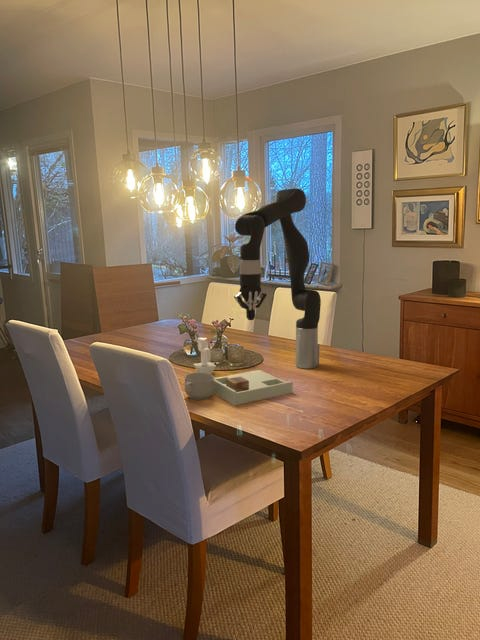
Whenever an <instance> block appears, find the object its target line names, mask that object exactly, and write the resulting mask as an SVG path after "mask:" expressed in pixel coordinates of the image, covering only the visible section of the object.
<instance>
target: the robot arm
mask: <svg viewBox="0 0 480 640" xmlns="http://www.w3.org/2000/svg"><path fill="white" fill-rule="evenodd" d="M306 204H307V198H306V194H305V192H304V190H303V189H300V188H289V189H288V188H286V189H279V190H278V191H277V192H276V194H275V199H274V202H271V203H268V204H265V205H264V206H261V207H260V208H258V209H257V210H254V211H251V212H246V213H244V214H241V215H239V216H238V217H237V219H236V220H235V222H234V230H235V231H236V233H237V234H238V235H240V236H242V237H243V236H244V237H245V236H246V237H247V236H249V237H250V238H249V240H248V241H247V242H243V243H241V244H240V248H239V292H238V294H236V295H234V296H233V298H234V299H235V301H236V303H237V304H238V305H239V306H240V307H241V308H242V309H245V311H246V312H245V313H246V314H245V315H246V319H247V320H248V321H254V320H255V319H256V318H255V317H256V310H257V308H260V307H261V305H262V303H263V302H264V301H265V299H266V297H267V293H266V292H263V291H262V288H261V284H262V283H261V282H262V279H261V278H262V277H261V275H262V273H261V272H262V266H261V265H262V264H261V245H262V240H263V236H264V233H265V228H267V227H269V226H271V225H272V224H274V223H275V222H277V221H279V222H280V226H281V232H282V236H283V242H284V249H285V254H286V256H285V257H286V260H287V264H288V265H287V266H288V274H289V279H290V290H291V293H290V294H291V302H292V305H293V307H294V308H295V309H296V310H298V311H303V312H304V316H303V317H302V318H298V319H297V320H296V321H295V367H297V368H299V369H309V370H310V369H315V368H317V367H320V344H319V336H318V335H319V322H320V319H321V315H320V314H321V303H322V302H321V295H320V292H318V290H314V289H309V288H308V289H307V288H306V284H305V279H304V278H305V275H306V274H305V273H306V271H307V268H308V266H309V263H310V251H309V247H308V246H309V245H308V242H307V240H306V238H305V237H304V235H303V234H302V233H301V231H300V230H299V229H298V228H297V227H296V225H295V224H294V221H293V218H292V214H294V213H298V212H302V210H304V209H305V207H306Z"/></svg>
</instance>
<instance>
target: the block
mask: <svg viewBox="0 0 480 640" xmlns="http://www.w3.org/2000/svg"><path fill="white" fill-rule="evenodd" d="M226 386H227V387H229V388H231V389H233V390H235V391H236V392H241V391H246V390H249V381H248V380H246V379H245V378H243V377H241V376H240V377H235V378H229V379H226Z"/></svg>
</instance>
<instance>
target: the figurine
mask: <svg viewBox="0 0 480 640" xmlns="http://www.w3.org/2000/svg"><path fill="white" fill-rule="evenodd" d="M208 345H209V342H208V338H207V337H198V338H197V349H198V350H199V351H200V362H198V363H193V366H194V368H195V370H196V372H202V373H209V374H211V375H213V372H214V371H215V368H216V367H217V366H216V365H215V364H214V363H212V362H211V358H212V357H211V355H212V354H211V350H210V348H209V346H208Z"/></svg>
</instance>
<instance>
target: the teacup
mask: <svg viewBox="0 0 480 640" xmlns="http://www.w3.org/2000/svg"><path fill="white" fill-rule="evenodd" d="M215 378H216V377H215V376H214V375H213V374H209V373H202V372H197V371H196V372H191V373H190V372H189V373H187V374H185V375H184V392H185V394H186V395H187V396H188V397H189V398H190V399H192V400H195V401H196V400H197V401H203V400H207V399H209V397H211V396H212V395H213V394H214V393H213V390H214V379H215Z"/></svg>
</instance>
